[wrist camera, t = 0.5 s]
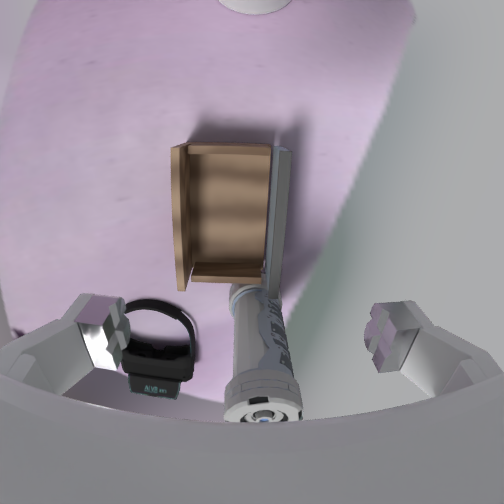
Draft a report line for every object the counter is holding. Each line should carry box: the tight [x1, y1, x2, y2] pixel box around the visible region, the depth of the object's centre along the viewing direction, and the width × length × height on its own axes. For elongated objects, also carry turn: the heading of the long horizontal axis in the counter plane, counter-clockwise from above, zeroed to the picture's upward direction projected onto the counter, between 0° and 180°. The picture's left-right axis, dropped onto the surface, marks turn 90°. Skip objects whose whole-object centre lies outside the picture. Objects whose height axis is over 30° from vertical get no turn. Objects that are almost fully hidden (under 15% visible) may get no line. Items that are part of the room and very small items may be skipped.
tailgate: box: [265, 146, 292, 299], centre depth 44 cm, size 22×2×9 cm, turn 177°
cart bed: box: [171, 142, 271, 291], centre depth 45 cm, size 22×14×11 cm, turn 177°
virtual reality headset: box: [121, 300, 195, 400], centre depth 59 cm, size 19×22×10 cm
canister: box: [224, 273, 303, 422], centre depth 45 cm, size 10×10×30 cm
